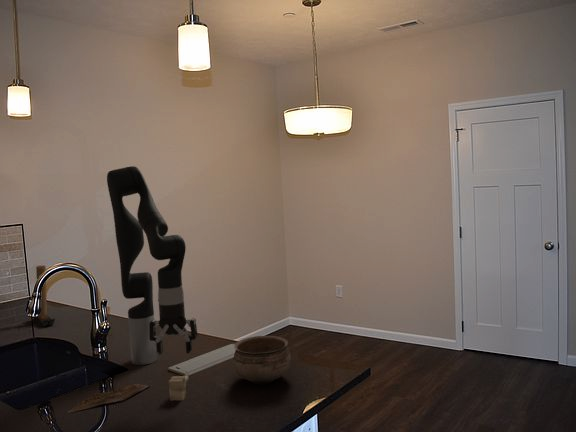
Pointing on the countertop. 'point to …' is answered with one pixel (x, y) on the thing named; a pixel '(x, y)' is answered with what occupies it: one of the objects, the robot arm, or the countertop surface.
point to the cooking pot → (261, 358)
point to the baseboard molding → (204, 361)
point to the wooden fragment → (109, 397)
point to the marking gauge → (177, 387)
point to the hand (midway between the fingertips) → (174, 353)
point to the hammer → (43, 303)
